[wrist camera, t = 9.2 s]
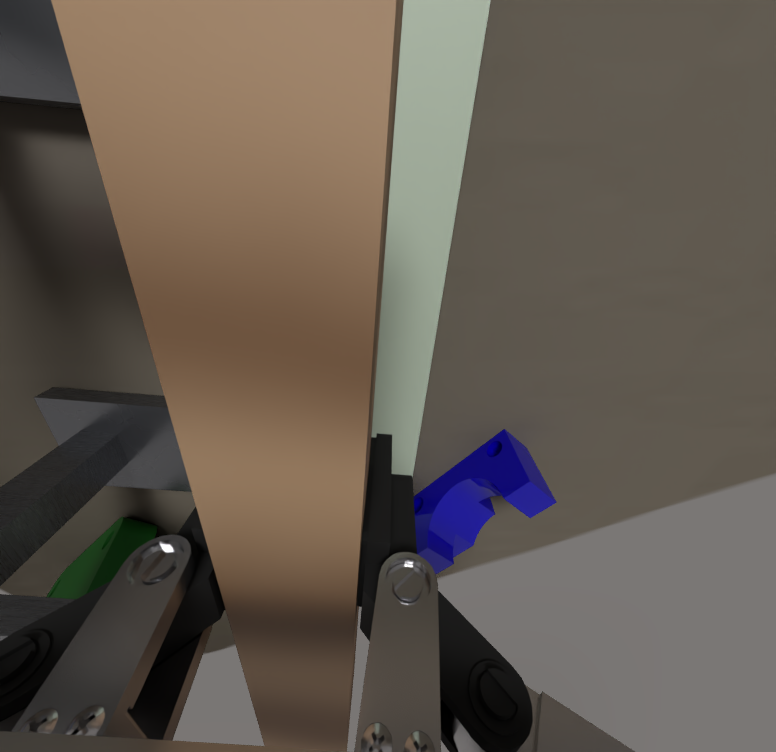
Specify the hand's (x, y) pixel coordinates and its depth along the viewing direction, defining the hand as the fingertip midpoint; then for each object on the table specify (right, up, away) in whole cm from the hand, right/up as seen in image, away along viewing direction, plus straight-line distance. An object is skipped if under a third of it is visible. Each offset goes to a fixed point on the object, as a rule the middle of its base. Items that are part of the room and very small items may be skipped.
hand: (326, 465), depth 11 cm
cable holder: (+7, -3, +9) cm, 12 cm away
